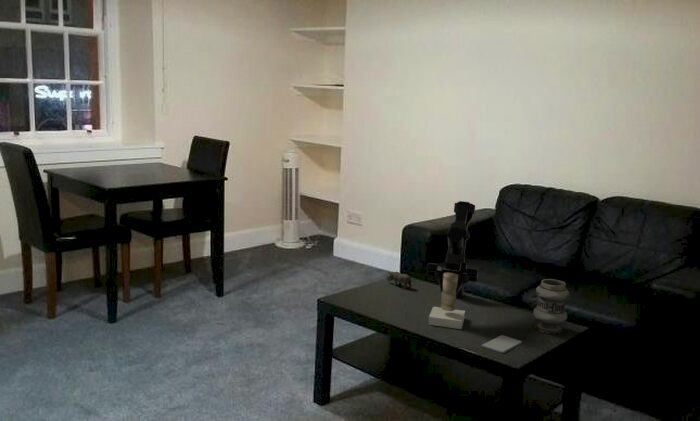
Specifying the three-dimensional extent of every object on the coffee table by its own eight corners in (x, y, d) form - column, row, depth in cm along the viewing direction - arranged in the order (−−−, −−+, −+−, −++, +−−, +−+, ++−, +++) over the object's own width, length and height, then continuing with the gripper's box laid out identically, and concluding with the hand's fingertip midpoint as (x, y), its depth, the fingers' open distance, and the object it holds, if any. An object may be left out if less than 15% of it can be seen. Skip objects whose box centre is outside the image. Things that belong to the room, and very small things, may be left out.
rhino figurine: (388, 281, 295) (389, 267, 294) (413, 288, 286) (414, 275, 284) (382, 282, 292) (383, 269, 291) (407, 290, 283) (408, 276, 281)
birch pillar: (450, 305, 251) (453, 272, 248) (457, 310, 246) (460, 276, 244) (438, 306, 249) (441, 273, 246) (445, 311, 244) (448, 277, 242)
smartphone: (523, 341, 232) (502, 352, 221) (523, 344, 232) (502, 355, 221) (501, 334, 237) (480, 344, 226) (501, 337, 238) (480, 347, 226)
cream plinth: (432, 314, 255) (433, 306, 255) (464, 318, 253) (465, 310, 252) (428, 324, 244) (428, 316, 243) (461, 329, 241) (462, 321, 241)
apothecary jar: (524, 324, 250) (529, 278, 246) (550, 321, 255) (556, 276, 251) (545, 336, 239) (551, 288, 235) (572, 333, 244) (578, 285, 240)
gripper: (429, 241, 249) (422, 278, 241) (480, 247, 244) (475, 285, 236) (430, 257, 258) (423, 293, 250) (479, 263, 254) (474, 299, 245)
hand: (448, 292), depth 245 cm, fingers closed on birch pillar, 5 cm apart
